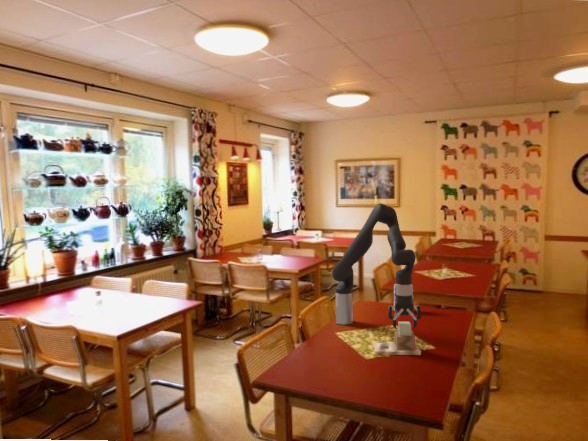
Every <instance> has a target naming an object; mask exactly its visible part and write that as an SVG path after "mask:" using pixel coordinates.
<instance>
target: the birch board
mask: <svg viewBox="0 0 588 441" xmlns="http://www.w3.org/2000/svg"><path fill="white" fill-rule="evenodd" d="M372 346H373V350H374V355H375V356H378V355H379V356H388V355H389V356H390V355H391V356H405V355H406V356H421V355H422V351H421V350H420V347H419V346H418V344H417V342H416V341H415V350H397V348H396V345H395V341H372Z"/></svg>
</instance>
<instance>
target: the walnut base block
mask: <svg viewBox="0 0 588 441" xmlns="http://www.w3.org/2000/svg"><path fill="white" fill-rule="evenodd" d="M394 342H395V345H396V348H397V350H415V342H416V336H415V333H414V332H413V330H411V336H400V334H399V332H398V330H395V331H394Z"/></svg>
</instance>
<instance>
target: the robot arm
mask: <svg viewBox="0 0 588 441" xmlns="http://www.w3.org/2000/svg"><path fill="white" fill-rule="evenodd" d="M377 223H381V224H384V225H386V226H387V228H388V232H387V237H386V238H387V241H388V244H389V246H390V251H391V262H392V263H393V265H394V266H398V267H399V266H404V267H403V268H401V269H399V270H397V271H396V272H395V284H396V305H395V306H394V305H391V304H389V305H388V311H387V312H388V319H389V320H391V321H392V328H394V329H397V319H398V317H400V316H411V317H412V328H413V329H416V328H417V326H418V324H417V323H418V322H417V321H418V320H420V319H422V317H421V316H422V314H421V306H420V305H419V304H416V305H414V306H413V298H414V297H413V292H414V291H413V290H412V285H413V281H412V280H413V278H412V276H413V270H414V266H415V264H416V253H415V252H414V250H413V249H406V247H407V243H406V241H405V239H404V237H403V235H402V232H401V230H400V229H401V228H400V224H399V219H398V216H397V211H396V210H395V208H393V207H391V206H389V205H386V204H384V203H381V202H378V203H377V204H376V205H375V206H374V207H373V208H372V210H371V212H370V214H369V215H368V217H367V219H366V221H365V223H364V225H363V227H361V229H360V231H359V232H358V234H357V235H356V236H355V237H354V239H353V240H352V242H351V244H350V245H349V247H348V248H347V250H346V251H345V253H344V254H343V256H342V257H341V258H340V260H339V261H338V262H337V263H336V265H335V266H333V268H332V271H331V275H332V278H333V280H334V281H336V282H338V283H337V284H336V286H335V292H334V293H335V323H336V324H337V325H343V326H344V325H345V326H346V325H352V324H353V322H354V321H353V319H354V318H353V287H354V270H353V266H354V264H356V263H357V262H358V261H360V259H361V258H363V257H364V256H365V254H366V253H368V251H369V250H370V248H371V247H372V245H373V240H374V239H373V238H374V236H373V235H374V234H373V233H374V228H375V226H376V225H377ZM394 308H395V309H396V310H397V311H396V312H395V311H394ZM413 309H414V310H416V315H415V314H414V312H413V313H412V310H413ZM393 311H394V314H393Z"/></svg>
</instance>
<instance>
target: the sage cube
mask: <svg viewBox="0 0 588 441" xmlns="http://www.w3.org/2000/svg"><path fill="white" fill-rule="evenodd" d="M397 322H398V323H397V324H398V327H397V328H398V329H397V331H398V332H399V334H400V336H411V331H412V324H411V322H410V321H397Z"/></svg>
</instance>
